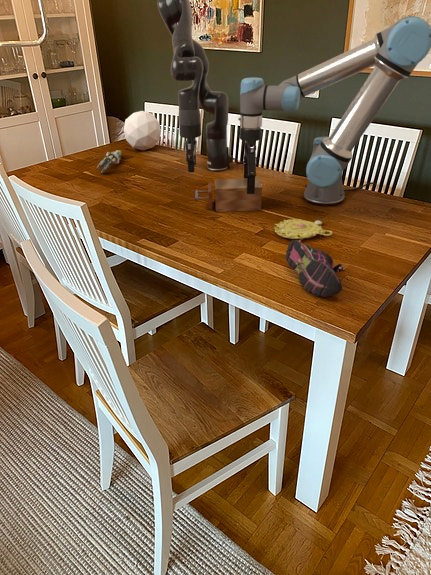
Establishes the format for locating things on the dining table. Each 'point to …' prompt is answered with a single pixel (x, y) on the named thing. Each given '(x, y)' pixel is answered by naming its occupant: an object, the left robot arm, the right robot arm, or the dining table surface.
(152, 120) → the sphere
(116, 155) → the figurine
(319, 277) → the athletic shoe
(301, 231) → the decorative object
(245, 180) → the wooden drawer box
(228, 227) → the dining table surface
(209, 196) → the drawer
